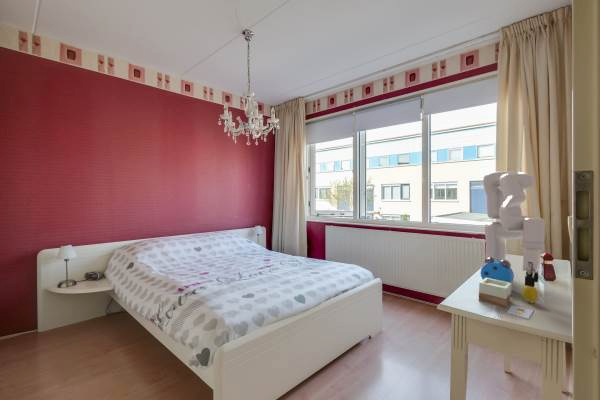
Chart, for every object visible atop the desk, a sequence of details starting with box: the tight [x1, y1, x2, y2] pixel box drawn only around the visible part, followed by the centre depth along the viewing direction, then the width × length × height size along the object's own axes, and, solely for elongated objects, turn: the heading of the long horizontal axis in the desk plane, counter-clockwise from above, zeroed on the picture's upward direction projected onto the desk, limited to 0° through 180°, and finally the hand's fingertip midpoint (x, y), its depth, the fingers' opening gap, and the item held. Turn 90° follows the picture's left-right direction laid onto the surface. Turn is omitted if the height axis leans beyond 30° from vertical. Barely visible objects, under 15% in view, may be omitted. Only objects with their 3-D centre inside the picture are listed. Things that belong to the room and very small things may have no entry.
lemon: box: [521, 285, 539, 303], centre depth 125 cm, size 6×6×8 cm
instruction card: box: [506, 305, 534, 320], centre depth 116 cm, size 10×7×1 cm
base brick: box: [478, 291, 512, 309], centre depth 126 cm, size 10×10×4 cm
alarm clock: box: [480, 257, 515, 283], centre depth 143 cm, size 13×6×15 cm, turn 38°
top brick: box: [478, 278, 513, 299], centre depth 126 cm, size 10×10×4 cm
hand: (531, 283), depth 124 cm, fingers open, 9 cm apart
